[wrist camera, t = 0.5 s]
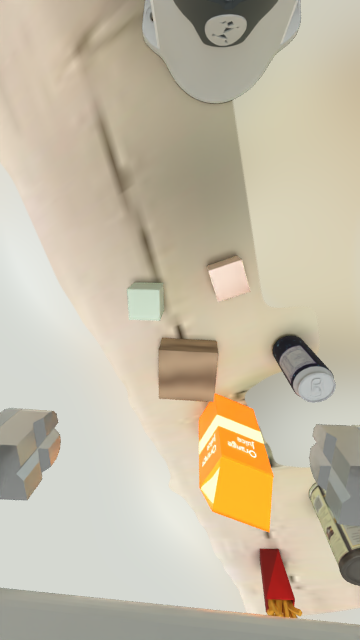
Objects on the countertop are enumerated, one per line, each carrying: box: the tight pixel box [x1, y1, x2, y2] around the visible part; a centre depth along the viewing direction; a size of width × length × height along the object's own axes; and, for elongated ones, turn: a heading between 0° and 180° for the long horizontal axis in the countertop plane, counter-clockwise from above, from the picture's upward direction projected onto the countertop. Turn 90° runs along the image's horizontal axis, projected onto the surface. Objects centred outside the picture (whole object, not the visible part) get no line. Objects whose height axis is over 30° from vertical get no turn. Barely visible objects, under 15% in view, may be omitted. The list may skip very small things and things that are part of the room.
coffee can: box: [309, 483, 360, 586], centre depth 51 cm, size 10×10×14 cm
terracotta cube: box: [207, 256, 250, 302], centre depth 39 cm, size 5×5×5 cm
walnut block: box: [159, 338, 218, 402], centre depth 46 cm, size 10×10×5 cm
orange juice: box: [199, 394, 274, 532], centre depth 42 cm, size 8×9×20 cm
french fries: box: [260, 549, 302, 618], centre depth 60 cm, size 9×8×15 cm
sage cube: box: [127, 282, 164, 321], centre depth 41 cm, size 5×5×5 cm
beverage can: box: [273, 336, 336, 402], centre depth 39 cm, size 6×6×12 cm
